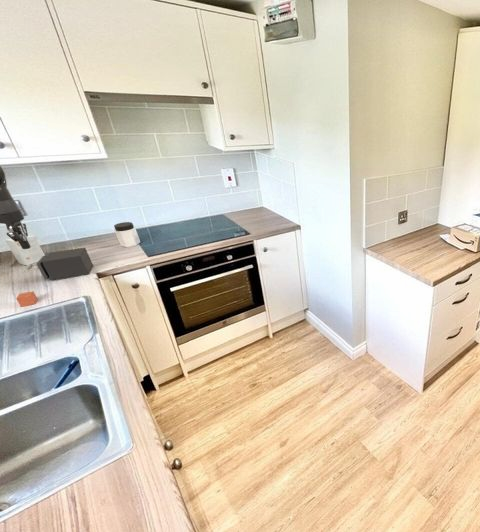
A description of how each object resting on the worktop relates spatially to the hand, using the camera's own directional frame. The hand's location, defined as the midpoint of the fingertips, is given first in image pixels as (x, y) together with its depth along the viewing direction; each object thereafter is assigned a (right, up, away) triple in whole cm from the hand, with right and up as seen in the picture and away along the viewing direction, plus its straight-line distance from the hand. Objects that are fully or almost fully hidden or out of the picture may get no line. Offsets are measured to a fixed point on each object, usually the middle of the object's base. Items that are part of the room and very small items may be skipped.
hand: (26, 248), depth 140 cm
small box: (-21, -6, +21) cm, 30 cm away
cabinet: (+8, -11, +12) cm, 18 cm away
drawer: (+4, -11, +9) cm, 15 cm away
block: (+14, -23, -11) cm, 29 cm away
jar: (+10, +5, +43) cm, 44 cm away
